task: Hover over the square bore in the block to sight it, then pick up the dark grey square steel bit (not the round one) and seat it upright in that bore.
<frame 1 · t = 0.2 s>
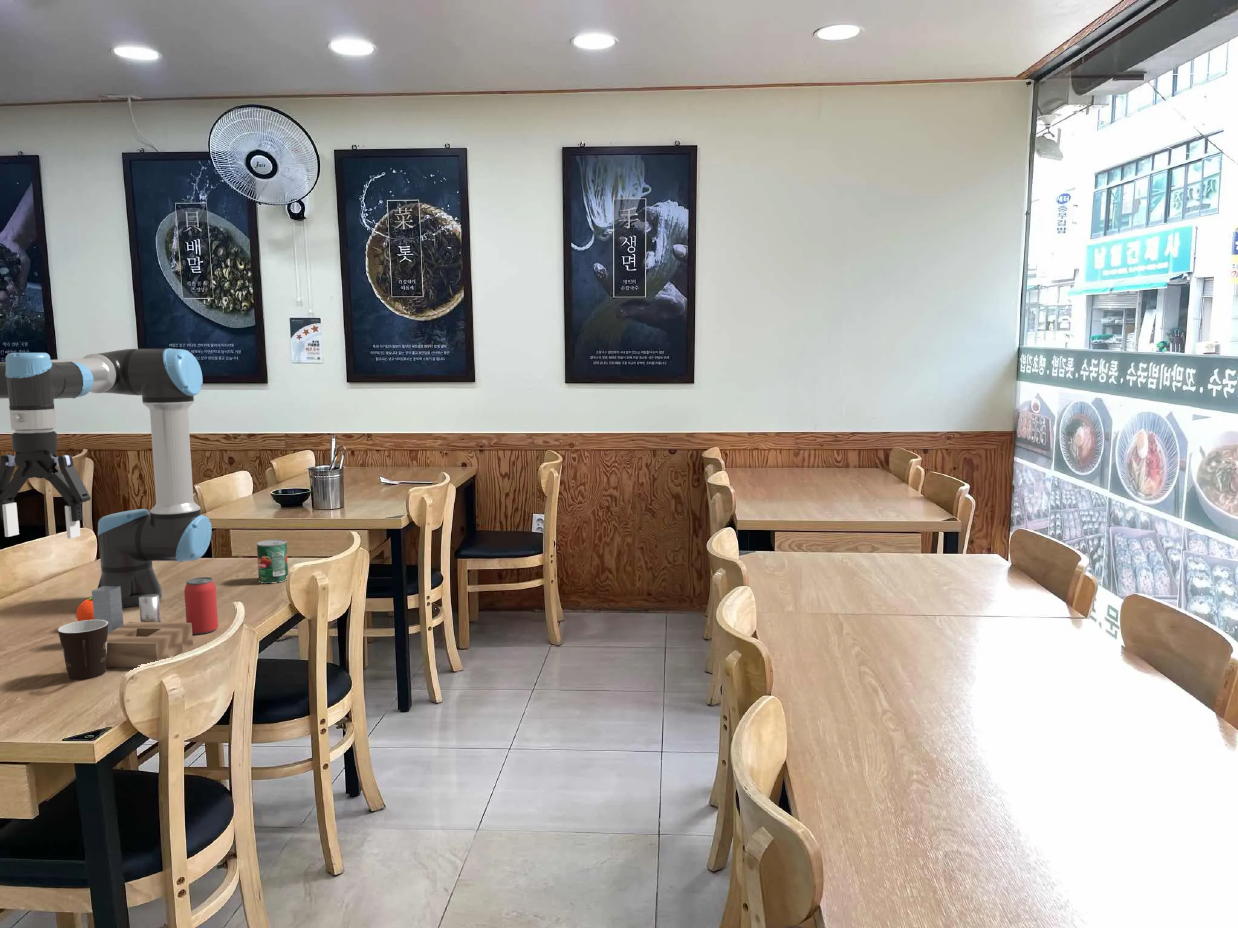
hand: (42, 536, 179), 27 cm above the table, tool pointing down, fingers open, 13 cm apart
socket block: (143, 655, 190), on the table
canned tomato: (273, 581, 251), on the table
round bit: (152, 639, 200), on the table
square bit: (110, 640, 199), on the table
beer can: (202, 631, 207), on the table
coffee mug: (83, 678, 177), on the table
clementine: (95, 627, 210), on the table
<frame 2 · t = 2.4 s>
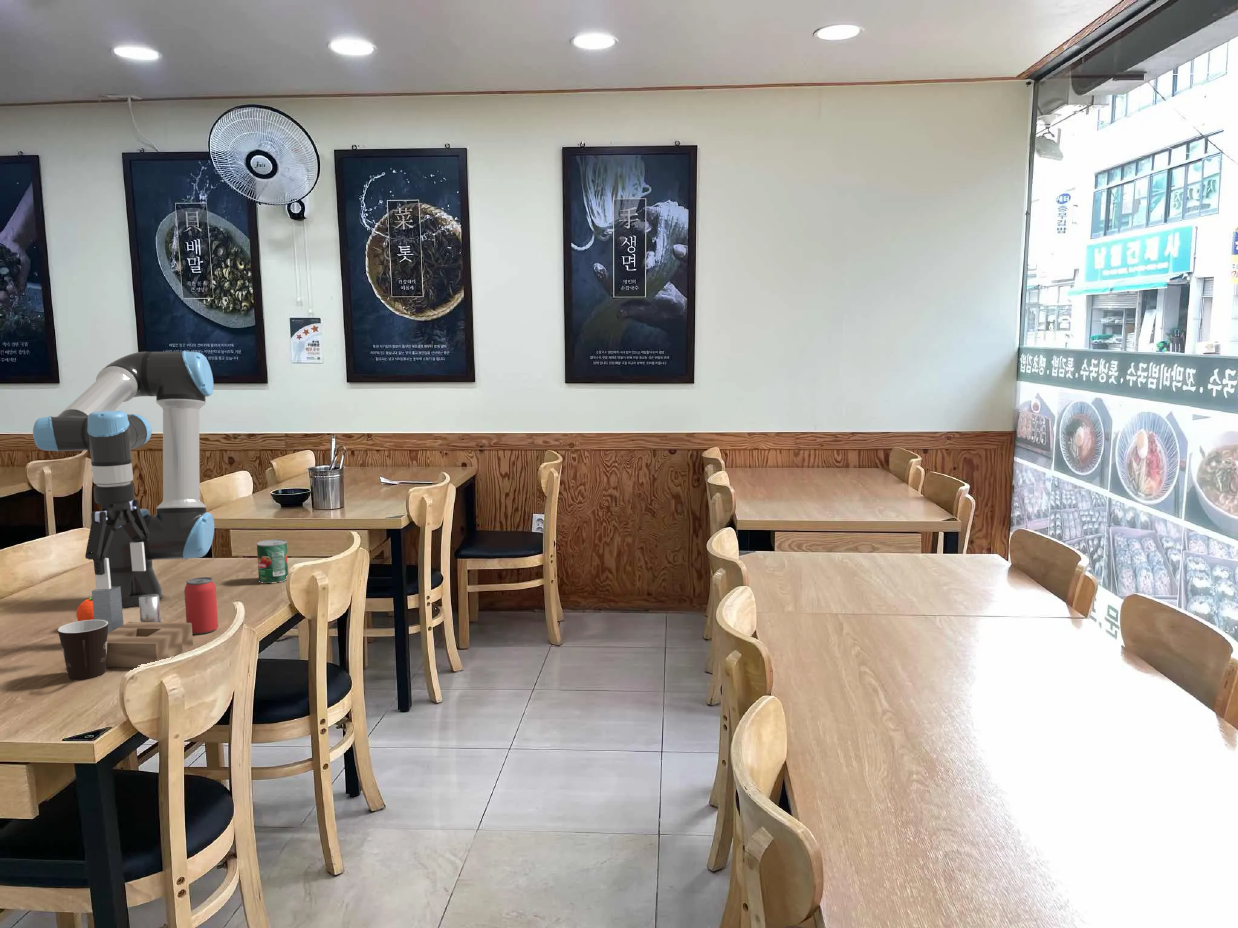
hand: (122, 579, 194), 15 cm above the table, tool pointing down, fingers open, 13 cm apart
nothing on the table moved.
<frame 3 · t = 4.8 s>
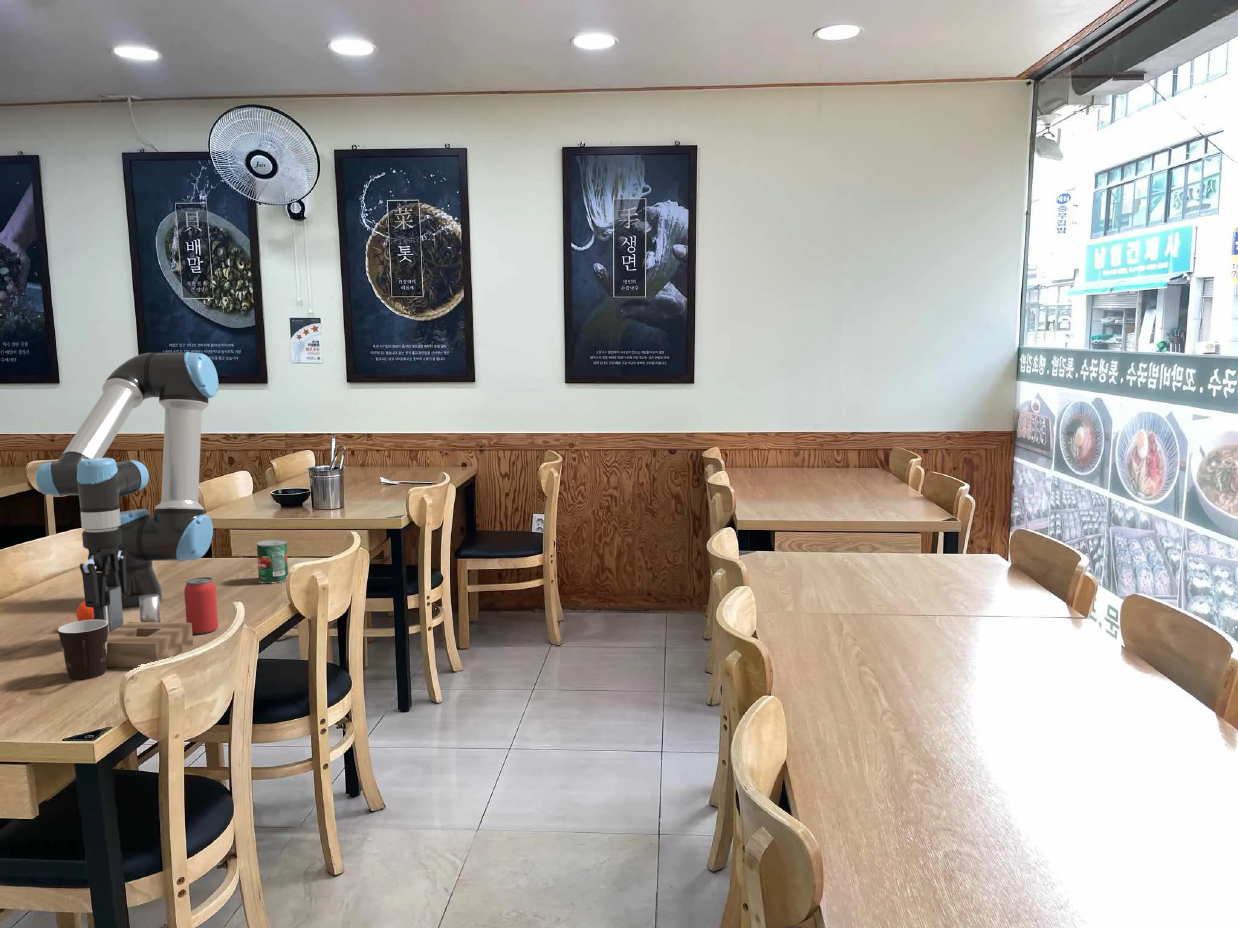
hand: (109, 631, 199), 2 cm above the table, tool pointing down, fingers closed on square bit, 4 cm apart
square bit: (110, 640, 199), on the table, touching gripper
everything else where it was.
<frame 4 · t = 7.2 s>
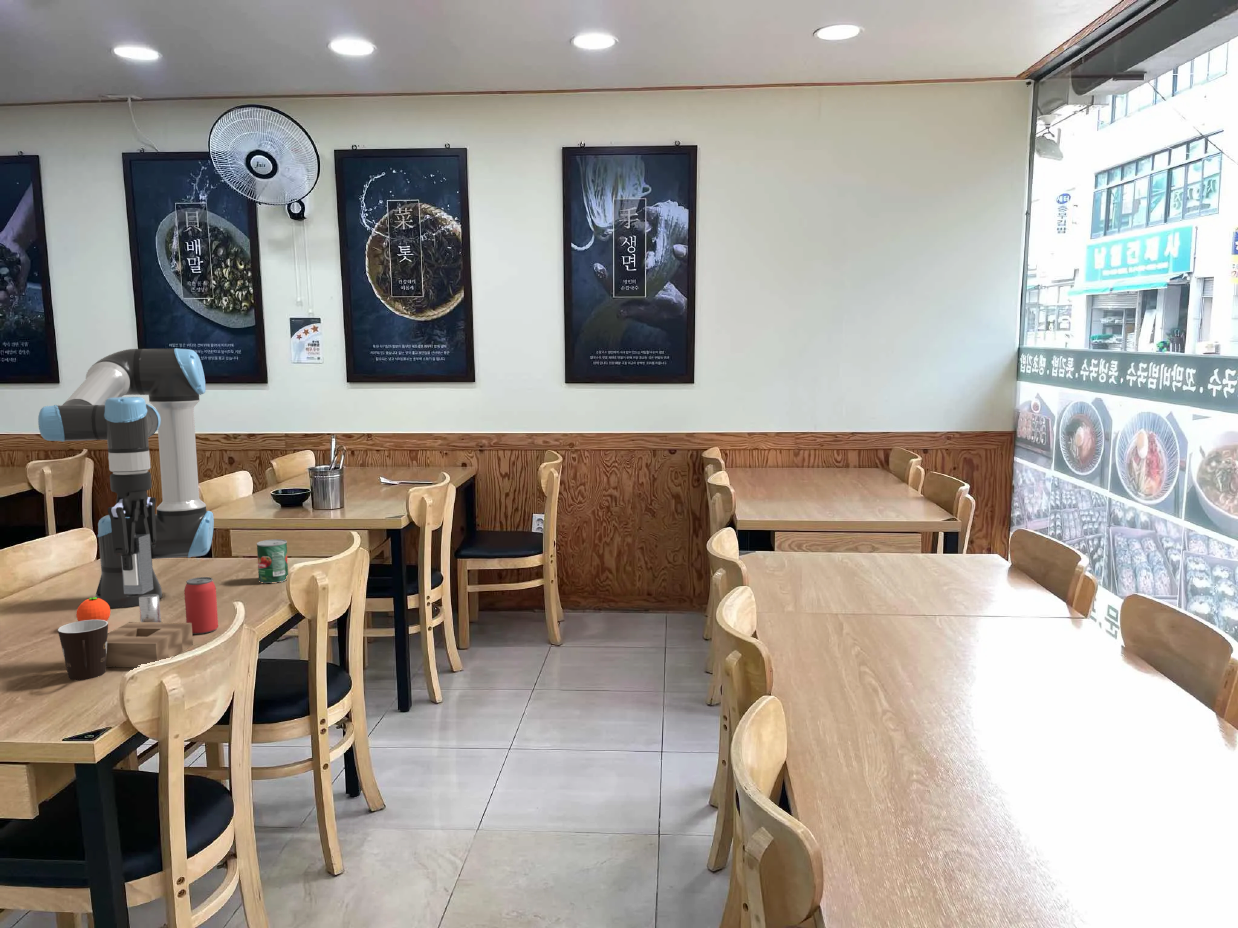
hand: (138, 581, 188), 16 cm above the table, tool pointing down, fingers closed on square bit, 4 cm apart
square bit: (138, 591, 188), point 14 cm above the table, touching gripper
everything else where it was.
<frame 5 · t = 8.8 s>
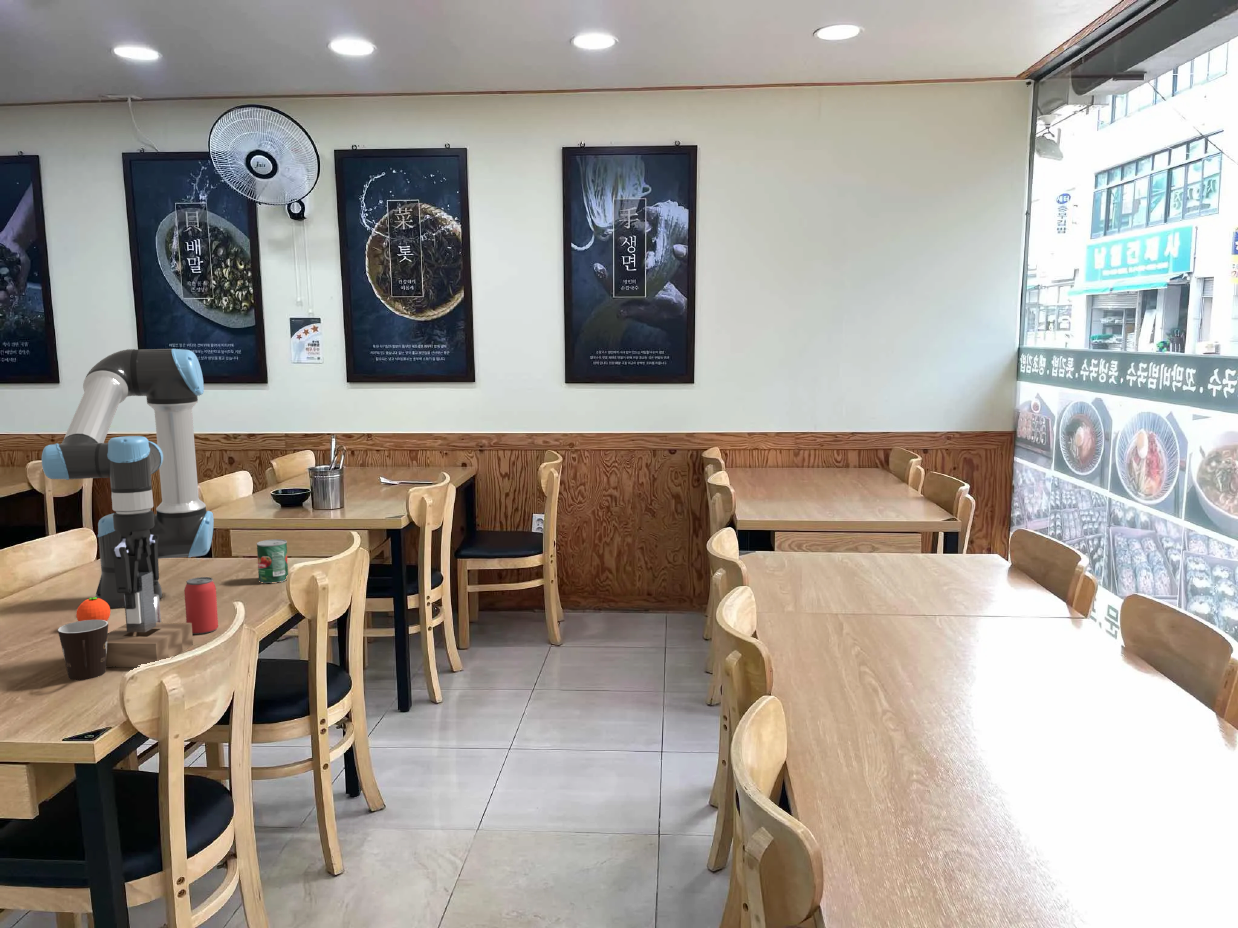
hand: (141, 619, 189), 8 cm above the table, tool pointing down, fingers closed on square bit, 4 cm apart
square bit: (141, 629, 189), point 6 cm above the table, touching gripper
everything else where it was.
when the fingers open (6 cm above the table, at t = 10.0 s): square bit drops 4 cm, resting in socket block.
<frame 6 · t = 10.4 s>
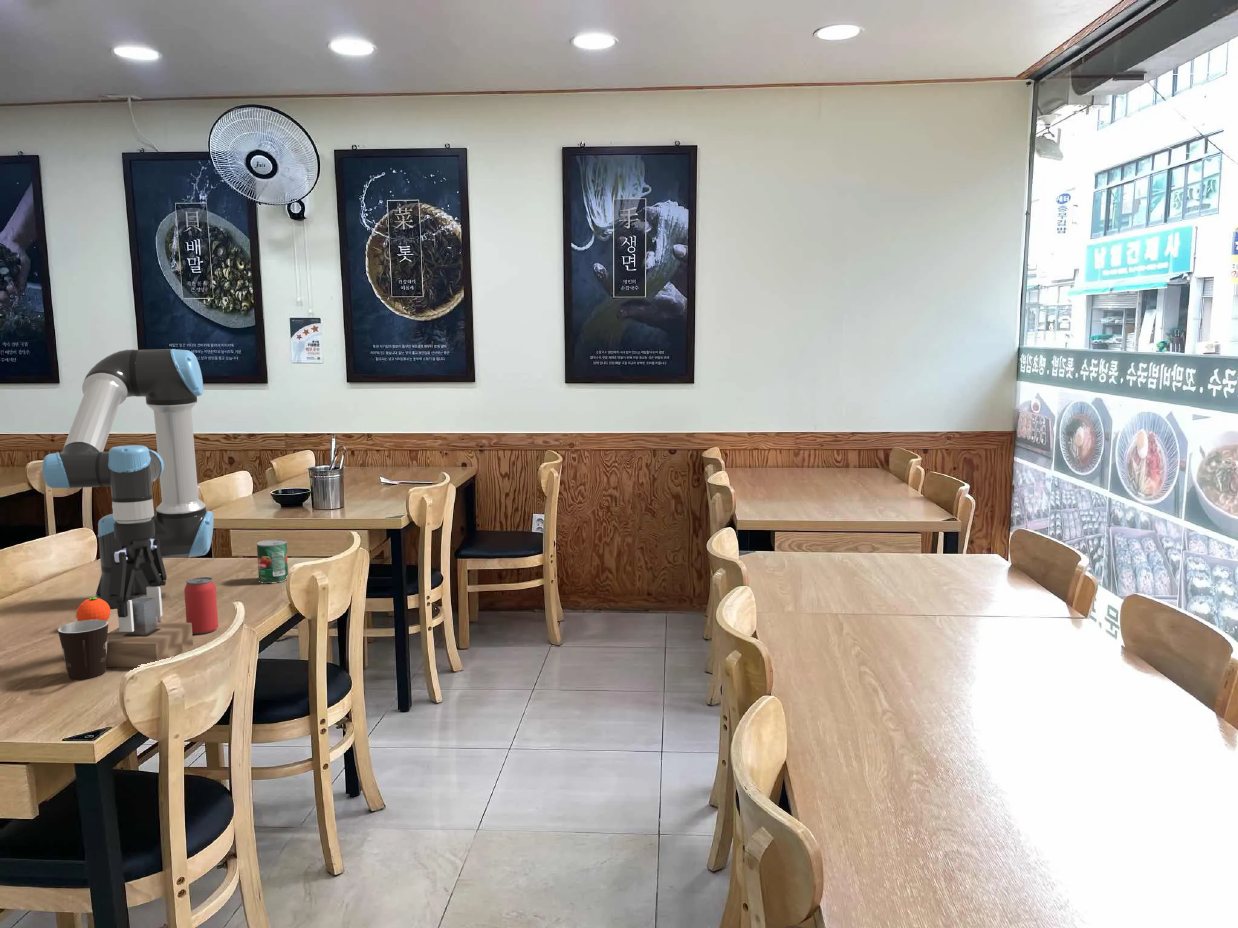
hand: (141, 623, 189), 7 cm above the table, tool pointing down, fingers open, 10 cm apart
square bit: (143, 655, 190), resting in socket block
everything else where it was.
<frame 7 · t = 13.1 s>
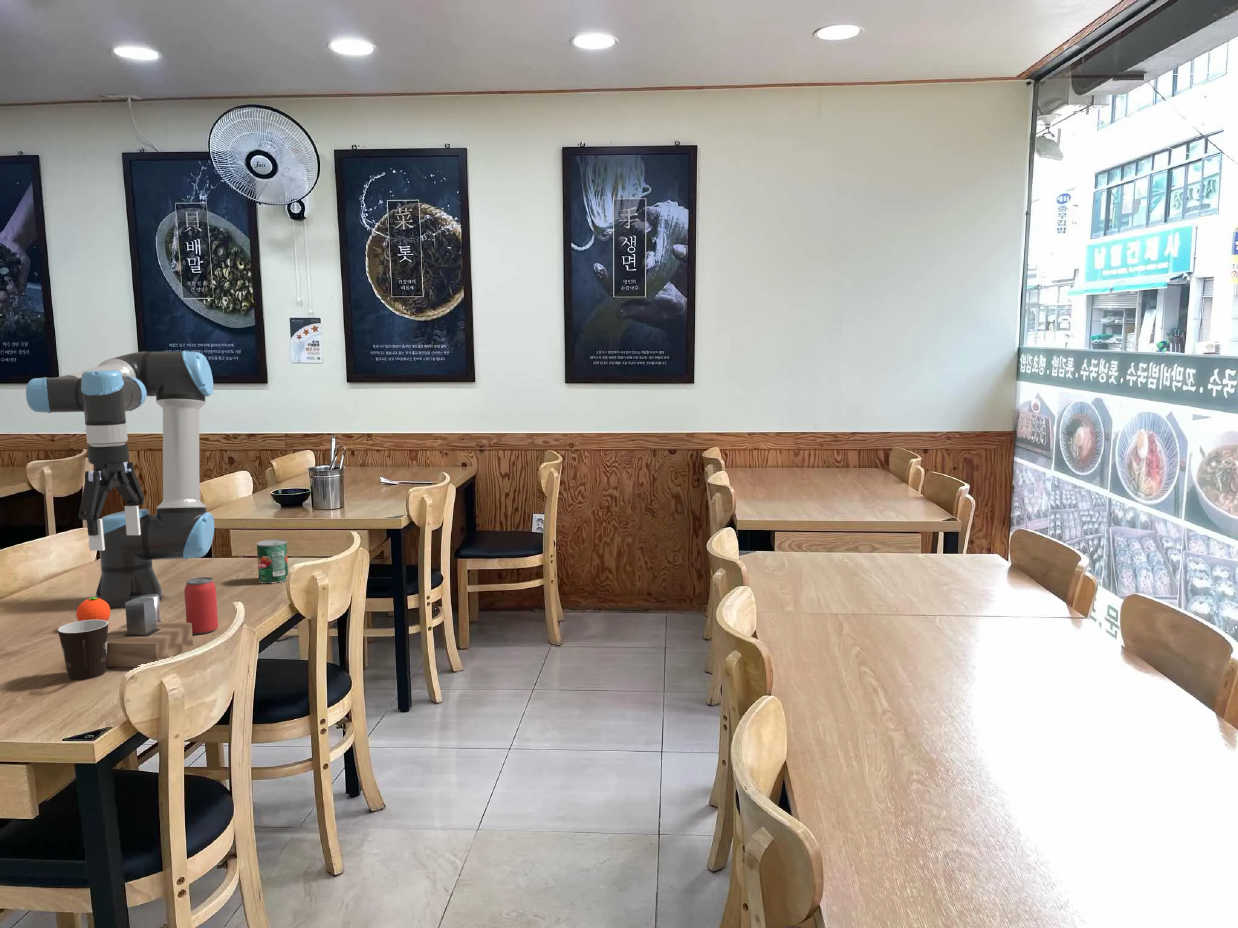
hand: (116, 542, 191), 24 cm above the table, tool pointing down, fingers open, 13 cm apart
nothing on the table moved.
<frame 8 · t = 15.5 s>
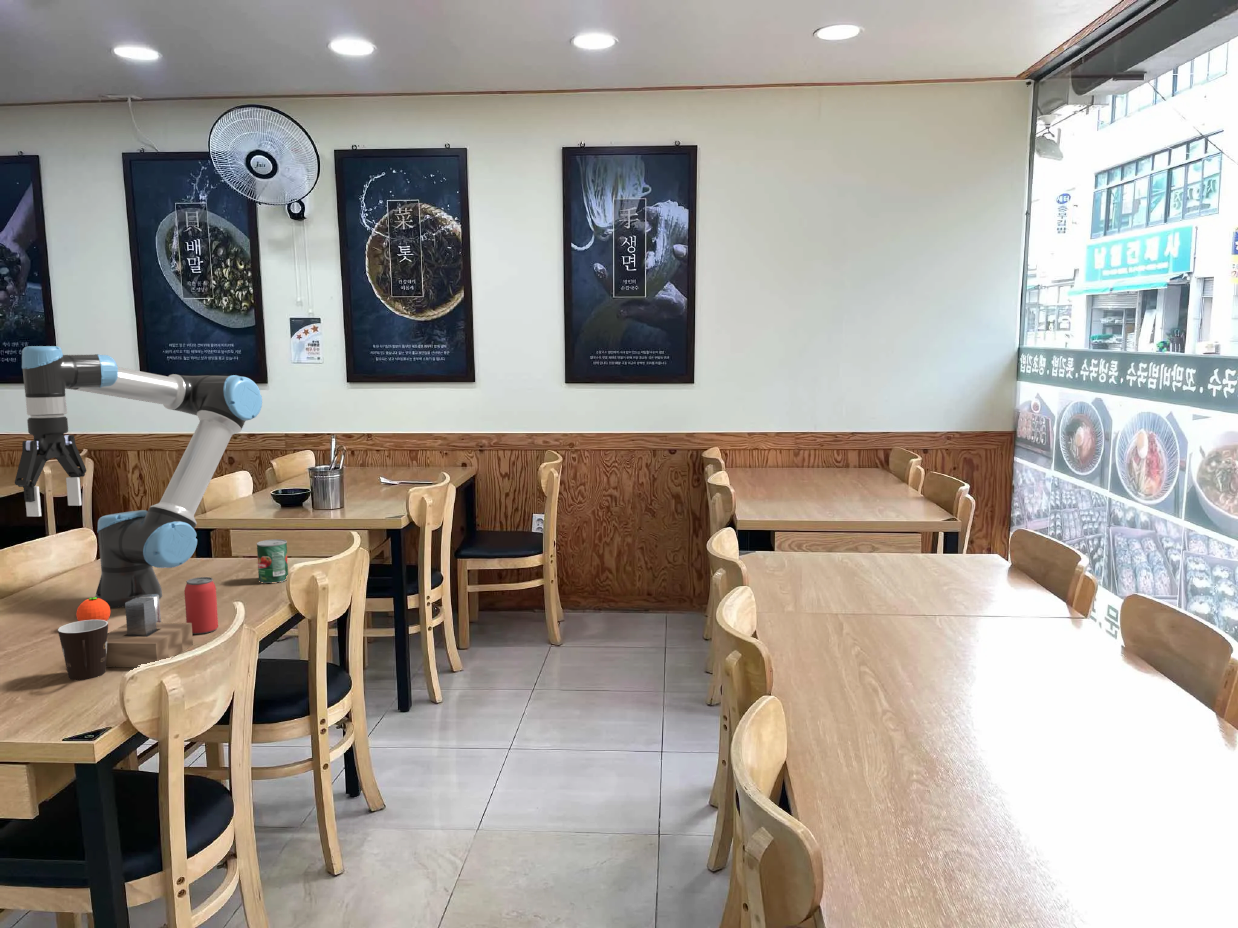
hand: (55, 510, 200), 29 cm above the table, tool pointing down, fingers open, 13 cm apart
nothing on the table moved.
at the end: square bit 0.1 cm off-centre on the socket block, point 0.0 cm above the socket block's base; square bit tilted 0°; the gripper is holding nothing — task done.
